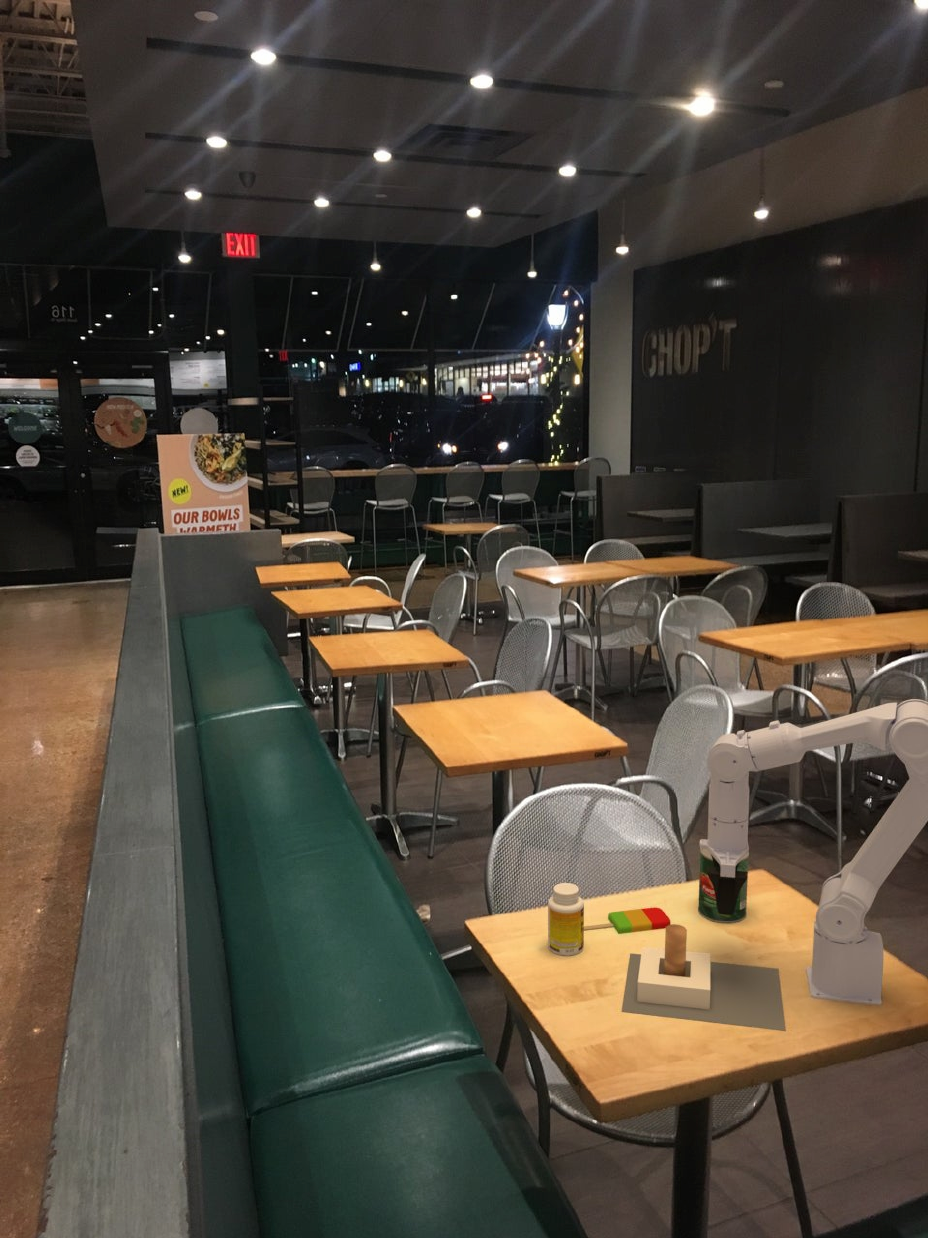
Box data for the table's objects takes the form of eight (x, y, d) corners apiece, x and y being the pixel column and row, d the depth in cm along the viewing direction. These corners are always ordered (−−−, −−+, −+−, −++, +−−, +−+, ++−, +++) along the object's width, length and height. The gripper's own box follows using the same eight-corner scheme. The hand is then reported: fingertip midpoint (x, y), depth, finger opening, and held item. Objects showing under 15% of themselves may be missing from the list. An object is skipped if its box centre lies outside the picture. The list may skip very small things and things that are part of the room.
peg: (685, 982, 148) (687, 925, 147) (684, 993, 146) (686, 935, 144) (664, 979, 149) (665, 923, 147) (663, 990, 146) (665, 933, 144)
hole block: (709, 972, 151) (710, 953, 150) (709, 1009, 141) (710, 990, 141) (641, 965, 153) (642, 946, 153) (637, 1001, 144) (637, 982, 143)
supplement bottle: (587, 957, 156) (587, 895, 154) (551, 959, 156) (551, 897, 154) (580, 938, 162) (580, 879, 160) (545, 940, 161) (545, 881, 159)
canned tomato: (701, 923, 166) (703, 860, 164) (695, 900, 174) (696, 840, 172) (750, 924, 165) (753, 861, 163) (742, 902, 173) (744, 841, 171)
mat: (778, 970, 151) (778, 968, 151) (785, 1033, 136) (785, 1031, 136) (630, 955, 157) (630, 953, 157) (621, 1013, 141) (621, 1011, 141)
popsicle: (673, 931, 164) (673, 921, 164) (584, 943, 162) (584, 932, 161) (660, 916, 170) (660, 905, 169) (574, 926, 167) (574, 915, 167)
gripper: (700, 796, 156) (698, 877, 159) (699, 833, 143) (697, 922, 145) (748, 799, 155) (745, 881, 157) (751, 837, 141) (748, 926, 144)
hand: (725, 901), depth 151 cm, fingers open, 7 cm apart
